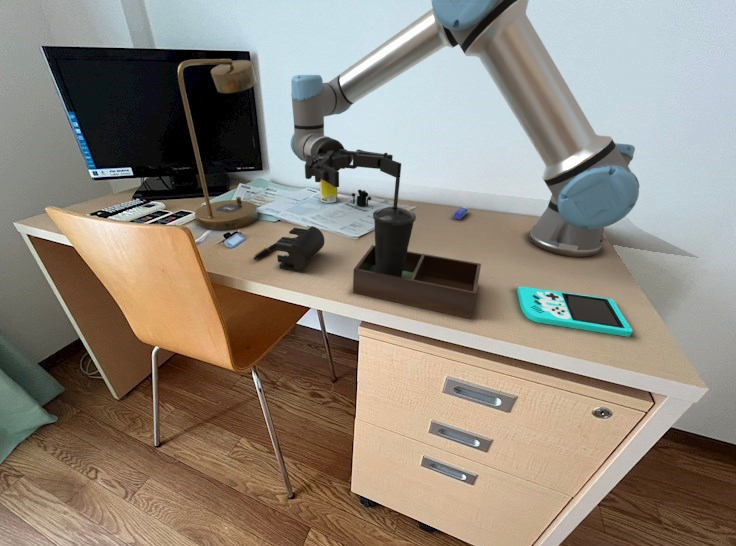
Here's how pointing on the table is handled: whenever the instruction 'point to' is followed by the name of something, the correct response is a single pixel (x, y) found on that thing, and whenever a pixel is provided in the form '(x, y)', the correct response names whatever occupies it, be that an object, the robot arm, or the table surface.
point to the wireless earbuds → (361, 198)
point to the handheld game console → (573, 311)
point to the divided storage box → (422, 282)
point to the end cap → (299, 248)
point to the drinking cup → (392, 236)
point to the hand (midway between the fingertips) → (369, 175)
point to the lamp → (214, 214)
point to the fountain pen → (265, 251)
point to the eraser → (460, 213)
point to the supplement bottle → (327, 192)
